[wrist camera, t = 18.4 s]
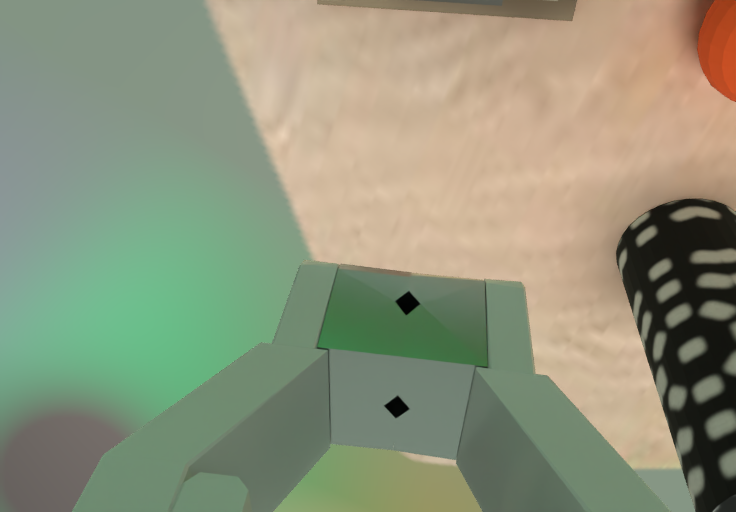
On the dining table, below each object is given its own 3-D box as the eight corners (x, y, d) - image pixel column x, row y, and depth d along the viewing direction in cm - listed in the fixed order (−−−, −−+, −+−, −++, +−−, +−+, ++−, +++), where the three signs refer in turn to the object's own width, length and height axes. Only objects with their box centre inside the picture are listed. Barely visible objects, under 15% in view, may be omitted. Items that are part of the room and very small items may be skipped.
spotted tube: (692, 175, 38) (849, 446, 22) (774, 243, 40) (969, 533, 25) (590, 254, 43) (662, 523, 27) (669, 311, 45) (777, 590, 29)
